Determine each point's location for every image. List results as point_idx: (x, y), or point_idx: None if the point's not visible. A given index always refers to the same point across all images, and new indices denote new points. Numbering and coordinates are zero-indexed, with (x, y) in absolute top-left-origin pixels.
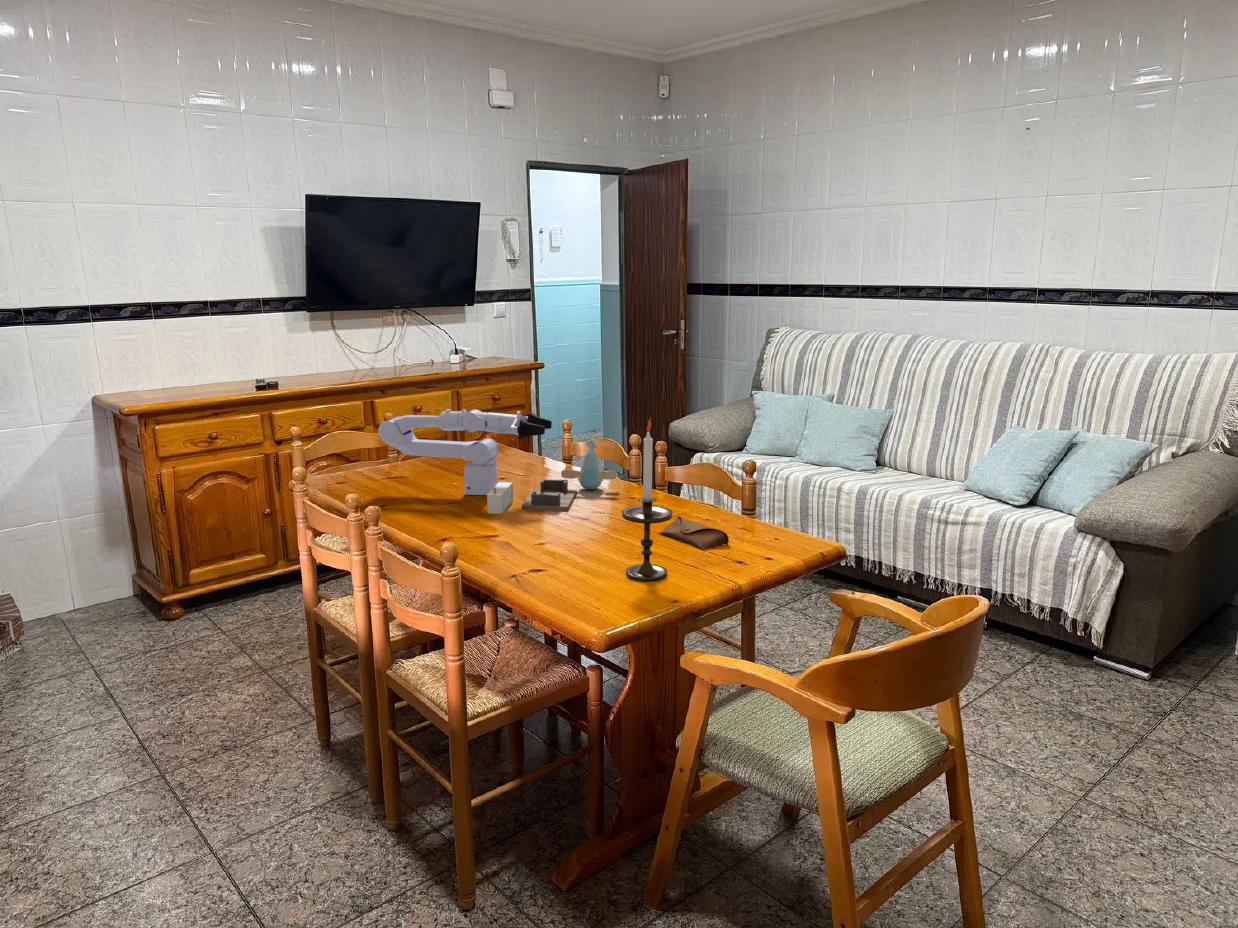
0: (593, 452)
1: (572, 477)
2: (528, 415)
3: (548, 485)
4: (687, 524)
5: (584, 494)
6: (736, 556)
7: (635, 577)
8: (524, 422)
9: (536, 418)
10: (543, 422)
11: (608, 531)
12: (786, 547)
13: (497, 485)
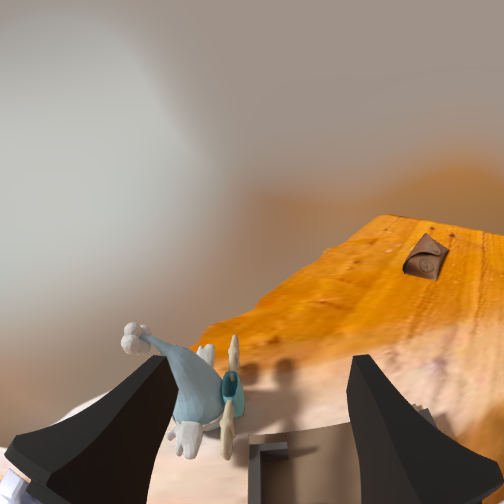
0: (179, 346)
1: (234, 432)
2: (62, 493)
3: (262, 499)
4: (428, 249)
5: (257, 423)
6: (443, 237)
7: None
8: (472, 452)
9: (109, 438)
10: (146, 407)
11: (467, 316)
12: (401, 225)
13: None
